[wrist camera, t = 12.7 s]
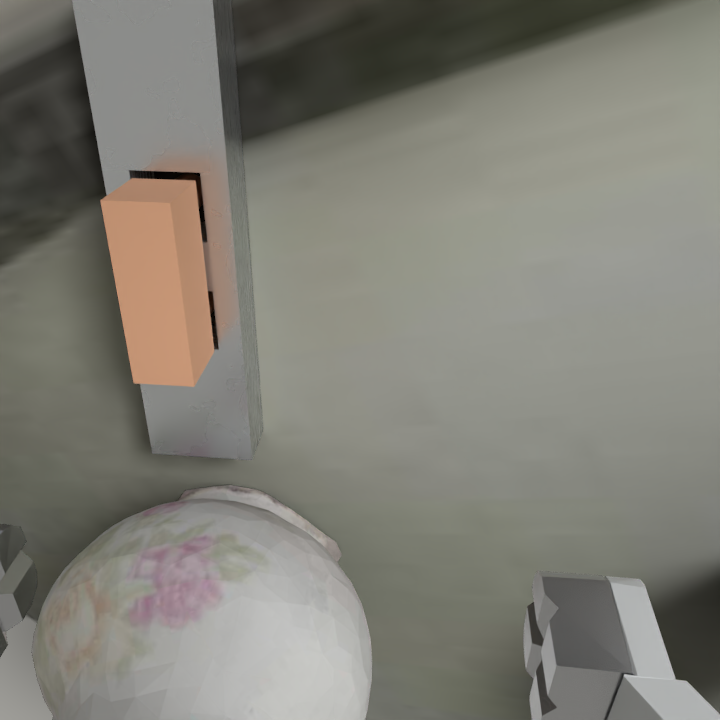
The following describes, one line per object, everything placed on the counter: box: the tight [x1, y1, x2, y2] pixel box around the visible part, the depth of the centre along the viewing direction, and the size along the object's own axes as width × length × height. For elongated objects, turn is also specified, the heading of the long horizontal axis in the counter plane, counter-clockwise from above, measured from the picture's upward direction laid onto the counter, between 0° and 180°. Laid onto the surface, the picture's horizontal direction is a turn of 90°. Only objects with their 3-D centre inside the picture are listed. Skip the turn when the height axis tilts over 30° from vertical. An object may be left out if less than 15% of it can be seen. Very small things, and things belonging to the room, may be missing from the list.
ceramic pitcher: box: [32, 485, 372, 720], centre depth 38 cm, size 22×20×25 cm
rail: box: [72, 0, 263, 460], centre depth 35 cm, size 24×6×3 cm, turn 179°
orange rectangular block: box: [100, 173, 214, 387], centre depth 33 cm, size 9×3×7 cm, turn 179°
